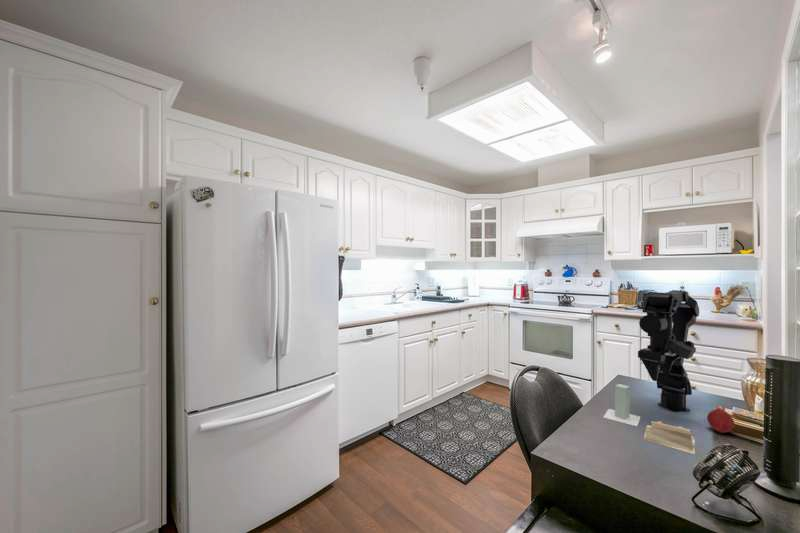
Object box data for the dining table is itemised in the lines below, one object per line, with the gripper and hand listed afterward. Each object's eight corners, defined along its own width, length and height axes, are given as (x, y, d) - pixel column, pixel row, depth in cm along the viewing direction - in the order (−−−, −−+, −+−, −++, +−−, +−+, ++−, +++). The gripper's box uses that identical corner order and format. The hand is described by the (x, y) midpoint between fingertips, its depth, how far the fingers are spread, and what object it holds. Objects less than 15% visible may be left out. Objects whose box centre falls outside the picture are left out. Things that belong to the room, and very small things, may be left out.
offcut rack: (647, 426, 104) (647, 410, 104) (694, 438, 96) (694, 422, 96) (643, 441, 94) (643, 424, 95) (694, 456, 87) (695, 437, 87)
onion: (739, 439, 96) (739, 411, 96) (716, 437, 98) (716, 409, 98) (724, 429, 102) (724, 403, 102) (702, 427, 103) (702, 401, 103)
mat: (608, 410, 115) (608, 408, 115) (640, 418, 109) (640, 416, 109) (603, 419, 108) (603, 417, 108) (637, 428, 102) (637, 426, 102)
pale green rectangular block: (619, 414, 111) (619, 383, 111) (629, 417, 108) (629, 386, 108) (614, 416, 109) (615, 385, 109) (625, 419, 107) (625, 388, 107)
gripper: (680, 337, 98) (680, 391, 98) (702, 332, 108) (702, 381, 108) (637, 331, 107) (636, 380, 107) (661, 327, 117) (660, 371, 117)
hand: (660, 378), depth 109 cm, fingers open, 9 cm apart
